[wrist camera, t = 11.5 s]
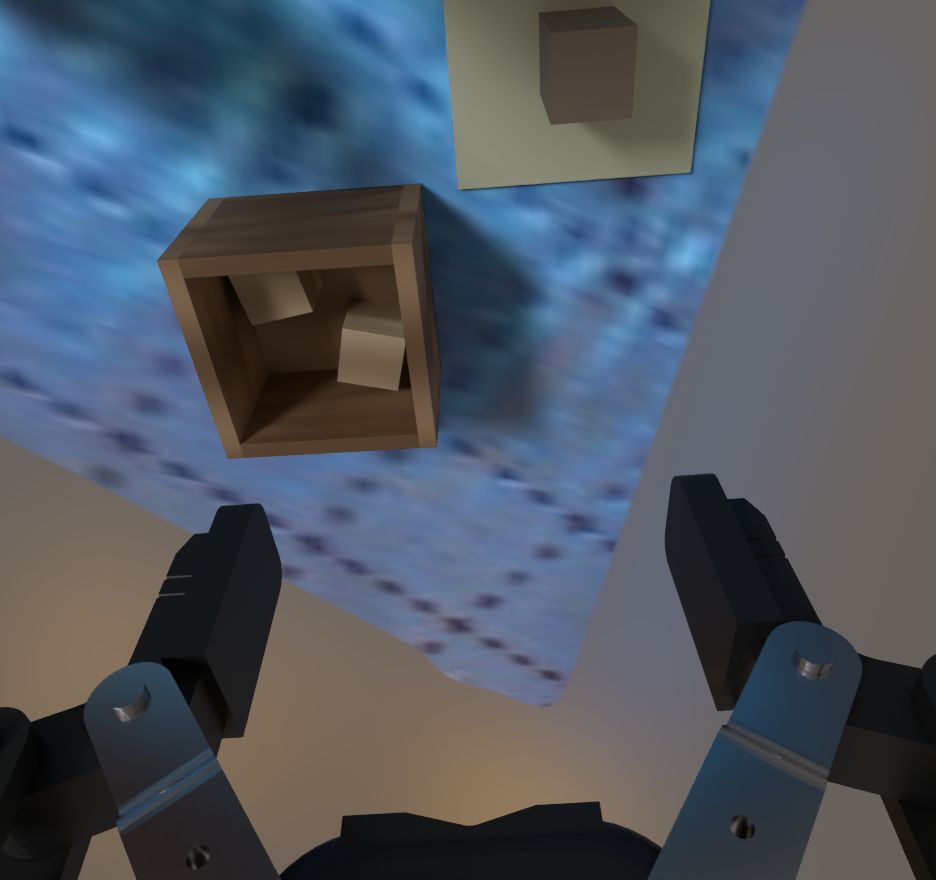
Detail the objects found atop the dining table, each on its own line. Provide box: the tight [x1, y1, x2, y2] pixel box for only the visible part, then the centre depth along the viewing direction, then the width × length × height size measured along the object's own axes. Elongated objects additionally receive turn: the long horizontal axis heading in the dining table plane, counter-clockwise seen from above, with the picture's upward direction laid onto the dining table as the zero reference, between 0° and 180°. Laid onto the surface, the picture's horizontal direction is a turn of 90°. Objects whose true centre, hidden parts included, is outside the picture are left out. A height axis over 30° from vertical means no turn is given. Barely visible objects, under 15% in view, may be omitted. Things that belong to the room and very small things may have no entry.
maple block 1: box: [228, 269, 323, 326], centre depth 33 cm, size 3×3×3 cm
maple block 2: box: [337, 299, 405, 391], centre depth 36 cm, size 3×3×3 cm
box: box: [157, 184, 441, 459], centre depth 33 cm, size 10×10×7 cm
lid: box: [443, 0, 710, 190], centre depth 28 cm, size 11×11×6 cm
